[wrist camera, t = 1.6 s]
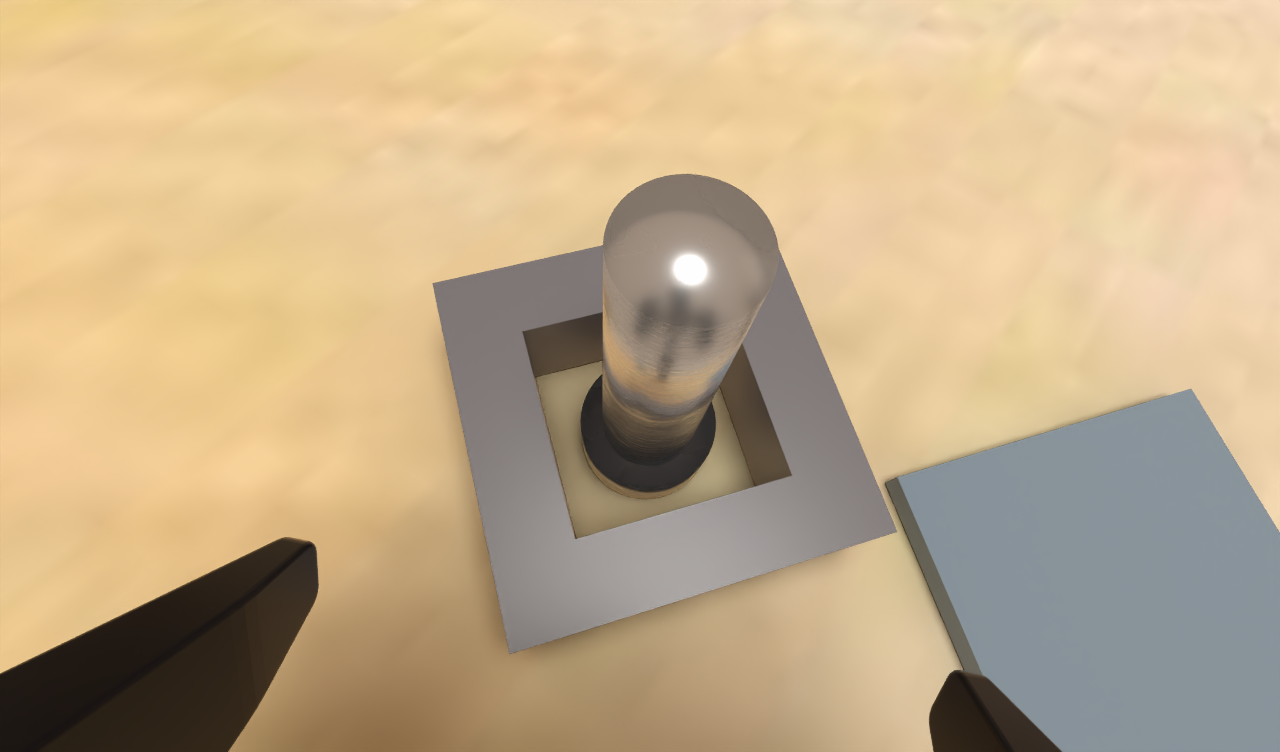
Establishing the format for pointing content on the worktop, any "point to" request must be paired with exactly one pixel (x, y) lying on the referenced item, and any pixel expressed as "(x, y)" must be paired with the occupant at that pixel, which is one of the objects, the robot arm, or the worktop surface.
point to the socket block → (663, 544)
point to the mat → (1110, 580)
